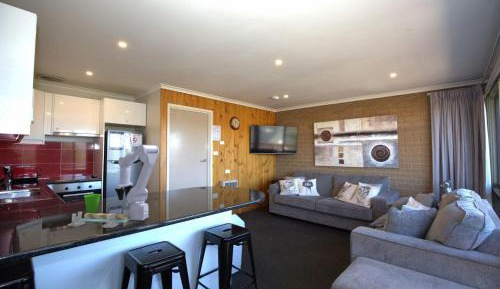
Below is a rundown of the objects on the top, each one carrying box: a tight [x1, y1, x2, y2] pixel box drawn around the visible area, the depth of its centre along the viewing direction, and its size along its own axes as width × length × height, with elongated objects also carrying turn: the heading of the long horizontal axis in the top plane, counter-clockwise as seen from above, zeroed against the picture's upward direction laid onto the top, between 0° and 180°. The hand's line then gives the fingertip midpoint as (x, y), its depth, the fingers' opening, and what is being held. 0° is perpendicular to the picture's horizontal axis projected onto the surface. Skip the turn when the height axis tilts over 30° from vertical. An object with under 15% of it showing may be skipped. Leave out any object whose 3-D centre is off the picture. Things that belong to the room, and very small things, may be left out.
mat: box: [82, 216, 130, 224], centre depth 138 cm, size 26×10×1 cm, turn 88°
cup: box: [83, 193, 102, 213], centre depth 152 cm, size 9×9×11 cm
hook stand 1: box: [67, 211, 87, 228], centre depth 128 cm, size 5×6×6 cm
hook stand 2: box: [101, 212, 120, 229], centre depth 127 cm, size 5×6×6 cm
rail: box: [83, 212, 129, 220], centre depth 138 cm, size 24×2×2 cm, turn 86°
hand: (124, 198), depth 151 cm, fingers open, 7 cm apart
